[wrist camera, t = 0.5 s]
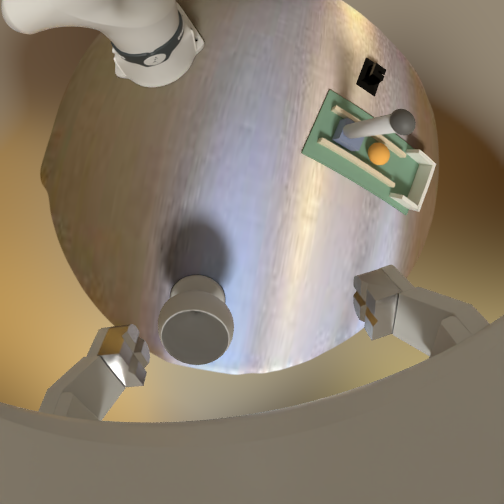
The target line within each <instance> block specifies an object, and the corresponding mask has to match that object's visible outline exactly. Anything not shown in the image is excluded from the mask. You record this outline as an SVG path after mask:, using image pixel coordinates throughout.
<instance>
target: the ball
mask: <svg viewBox="0 0 504 504" xmlns="http://www.w3.org/2000/svg"><path fill="white" fill-rule="evenodd" d="M368 157H369V159H370V161H371V162H372V163H374V164H376V165H384V164H385V163H387V162H388V160H389V158H390V152H389V149H388V148H387V146H386V145H384V144H382V143H374V144H372V145H371V146H370V147H369V149H368Z"/></svg>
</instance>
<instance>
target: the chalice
mask: <svg viewBox="0 0 504 504" xmlns="http://www.w3.org/2000/svg"><path fill="white" fill-rule="evenodd" d="M233 331H234V323H233V317H232V315H231V312H230V310H229V308H228V307H227V306H226V304H225V295H224V291H223V290H222V288H221V286H220V285H219V284H218V283H217V282H216V281H214V280H213V279H211V278H209V277H206V276H202V275H191V276H187V277H184V278H182V279H181V280H179V281H178V282H177V283H176V284H175V285H174V287H173V288H172V291H171V293H170V299H169V300H168V301H167V302H166V303H165V304H164V306H163V307H162V309H161V311H160V314H159V318H158V333H159V336H160V340H161V342H162V344H163V346H164V348H165V349H166V351H167V352H168V353H169V354H170V355H171V356H173V357H174V358H175V359H177V360H179V361H181V362H183V363H187V364H192V365H201V364H207V363H210V362H213V361H215V360H216V359H218V358H219V357H221V356H222V355H223V354H224V353H225V351H226V350H227V349H228V347H229V345H230V343H231V340H232V337H233Z"/></svg>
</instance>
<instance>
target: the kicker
mask: <svg viewBox="0 0 504 504" xmlns="http://www.w3.org/2000/svg"><path fill="white" fill-rule="evenodd" d="M414 129H415V119H414V117H413V115H412V114H411V113H410V112H409V111H407V110H405V109H397V110H395V111H394V112H393V113H392V114H389V115H385V116H380V117H376V118H372V119H367V120H363V121H359V122H354V121H352V120H351V119H349V118H345V119H342V120H340V121H339V124H338V126H337V129H336V131H335V133H334V136H333V138H332V140H333V141H335V142H336V143H338V144H340V145H341V146H343V147H345V148H346V149H348V150H350V151H359V150H360V147H361V145H362V142H363V140H364V137H367V136H374V135H382V134H390V133H398V134H400V135H408V134H410V133H412V132H413V131H414Z"/></svg>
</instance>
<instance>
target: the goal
mask: <svg viewBox="0 0 504 504" xmlns="http://www.w3.org/2000/svg"><path fill="white" fill-rule="evenodd" d="M331 111H332V112H334V113H335V114H337V115H339V116H340V117H342V118H344V119H345V118H349V119H351V120H352V121H354V122H359V121H361V120H359V119H358V118H356V117H354V116H353V115H351V114H350V113H348V112H347V111H345V110H343V109H342V108H340V107H338V106H337V105H336V106H334V107H332V109H331ZM371 137H373V138H374V139H376V140H377V141H378V142H380V143H382V144H384V145H386V146H387V148H388V149H389V150H391V151H392V152H394V153H395V154H396V155H397V156H399V157H400V158H405V157H406V154H408V155H409V156H410V157H411V158H412V159H414V160H415V161H416V162H417V163H418V164H419V167H418V170H417V173H416V176H415V178H414V181H413V184H412V187H411V189H410V192H409V194H408V197H405V196H404V195H400V194H396V193H391V192H390V195H389V197H391V198H392V199H394V200H395V201H397V202H398V203H400V204H401V205H402V206H404V207H405V208H407V209H411V210H415V211H418V212H419V210H420V208H421V205H422V203H423V200H424V197H425V195H426V192H427V189H428V187H429V184H430V181H431V178H432V175H433V172H434V169H435V166H436V164H435V163H434V162H433V161H432V160H431V159H430V158H429V157H428V156H427V155H426V154H425V153H423V152H422V151H421V150H420V149H407V150H406V153H405V152H403V151H402V150H401V149H399V148H398V147H397V146H396V145H394V144H393V143H392V142H390V141H389V140H388V139H386V138H385V137H384V136H382V135H374V136H371ZM317 143H319V144H321V145H323V146H324V147H326V148H328V149H330V150H331V151H333V152H335V153H337V154H338V155H340V156H342V157H343V158H345V159H347V160H348V161H350V162H352V163H353V164H355V165H357V166H358V167H360V168H361V169H363V170H365V171H366V172H368V173H369V174H371V175H372V176H374V177H375V178H377V179H378V180H380V181H381V182H383V183H384V184H386V185H387V186H389V187H393V188H394V187H395V183H394V182H392V181H391V180H390V179H388V178H387V177H385V176H384V175H382V174H381V173H379V172H378V171H376V170H375V169H373V168H372V167H370V166H369V165H367V164H366V163H364V162H363V161H361V160H360V159H358V158H356V157H355V156H353V155H352V154H350V153H348V152H347V151H345V150H343V149H342V148H340V147H338V146H337V145H335V144H333V143H332V142H330V141H328V140H326V139H324V138H319V139H318V142H317Z"/></svg>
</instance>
